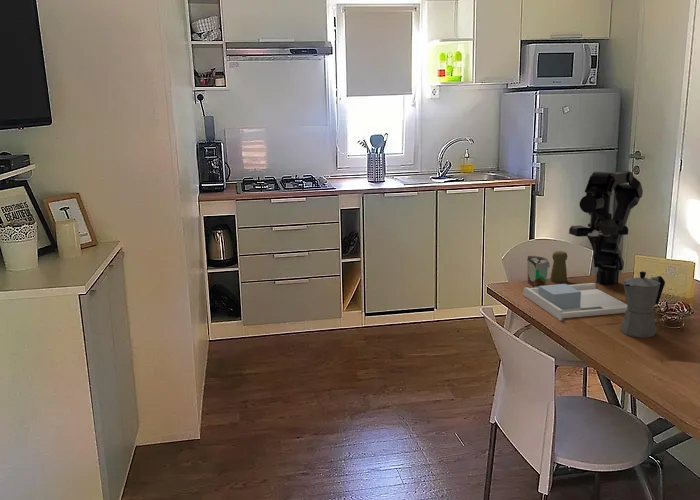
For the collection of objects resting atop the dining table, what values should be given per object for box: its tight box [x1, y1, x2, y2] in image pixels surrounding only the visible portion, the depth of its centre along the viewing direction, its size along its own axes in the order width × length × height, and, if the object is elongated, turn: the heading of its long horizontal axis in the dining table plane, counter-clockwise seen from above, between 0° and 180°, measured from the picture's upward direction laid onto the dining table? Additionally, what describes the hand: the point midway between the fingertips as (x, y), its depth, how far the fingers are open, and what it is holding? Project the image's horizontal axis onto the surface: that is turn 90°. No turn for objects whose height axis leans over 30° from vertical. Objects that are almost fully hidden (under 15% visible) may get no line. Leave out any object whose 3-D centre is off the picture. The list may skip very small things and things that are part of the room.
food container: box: [526, 255, 550, 288], centre depth 226 cm, size 12×6×10 cm, turn 179°
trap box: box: [522, 282, 627, 322], centre depth 207 cm, size 26×26×3 cm
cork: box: [549, 250, 568, 284], centre depth 232 cm, size 6×6×11 cm
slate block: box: [538, 283, 581, 309], centre depth 205 cm, size 10×10×5 cm
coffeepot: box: [620, 270, 666, 339], centre depth 180 cm, size 15×9×18 cm, turn 115°
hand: (596, 255), depth 216 cm, fingers closed
